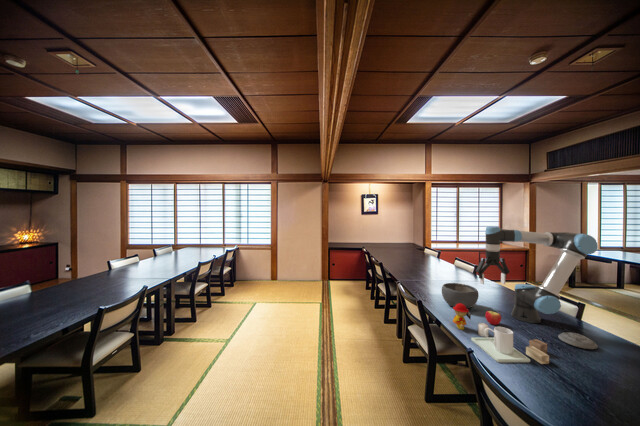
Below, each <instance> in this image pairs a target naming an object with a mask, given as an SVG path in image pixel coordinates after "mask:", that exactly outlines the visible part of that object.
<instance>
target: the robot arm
mask: <svg viewBox="0 0 640 426" xmlns="http://www.w3.org/2000/svg"><path fill="white" fill-rule="evenodd" d="M502 242H509V243H514V242H515V243H526V244H527V243H529V244H536V245H543V246H545V247H551V248H555V249H558V250H559V251H560V254H559V255H558V257H557V259H556V260H555V262H554V263H553V266H551V269H550V270H549V272H548V273H547V276H545V279H544V280H543V282H542V283H541V285H533V284H528V283H527V284H526V283H517V284H515V285H514V289H513V290H514V306H513V308H512V311H511V317H512V318H514V319H515V320H518V321H520V322H525V323H530V324H540V323H541V317H540V314H539V313H542V314H546V315H552V314H553V315H554V314H556V313H557V312H559V311H560V310H561V307H562V305H561V301H560V298H561V296H560V292H561V290H562V289H563V287H565V284H566V282H567V281H568V280H569V277H570V276H571V275H572V273H573V272H574V269H575V268H576V267H577V265H578V264H579V262H580V261H581V260H585V258H586V257H587V256H588V255H592V254H595V253H596V252H597V250H598V247H599V246H598V242H597V240H596V239H595V237H593V236H591V235H590V234H586V233H576V232H575V233H574V232H567V231H564V232H563V231H562V232H557V231H556V232H552V231H551V232H550V231H546V232H536V231H525V230H519V229H504V228H500V226H487V227H486V228H485V258H484V257H480V261H479V263H478V265H477V268H476V269H475V273H478V278H479V284H480V285H485V274H484V272H486V270H487V269H488V268H489V267H491V266H495V267H497V268H498V269H499V270H500V272H501V273H500V283H501V285H506V279H507V275H508V274H509V273H510V270H509V268H508V265H507V264H506V260H505V258H503V257H501V252H500V251H501V243H502Z"/></svg>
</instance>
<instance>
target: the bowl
mask: <svg viewBox="0 0 640 426" xmlns="http://www.w3.org/2000/svg"><path fill="white" fill-rule="evenodd" d="M441 286H442V287H441V294H442V298H443V299H444V301H445V302H446V303H447V304H448V305H449V306H451V307H452V308H453V307H455V306H456V304H458V303H461V304H464V305H465V306H466V308H467V309H471V308H472V307H473V306H475V305H476V304H477V302H478V300H479V297H480V296H479V291H478V290H477V288H476V287H474V286H471V285H468V284H465V283H458V282H448V283H447V282H446V283H444V284H442V285H441Z"/></svg>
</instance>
